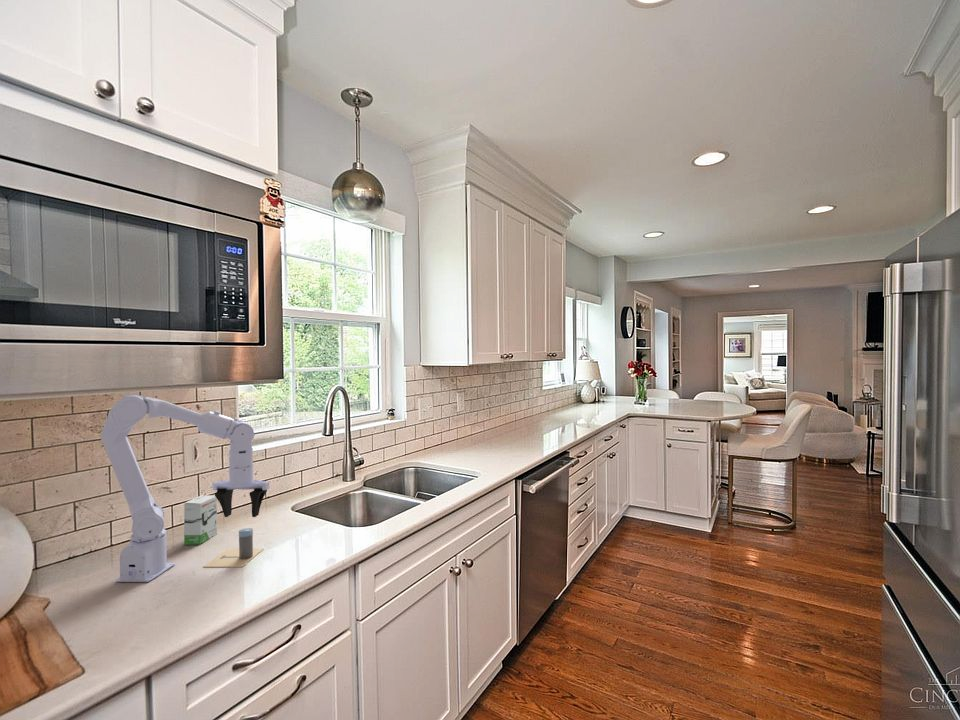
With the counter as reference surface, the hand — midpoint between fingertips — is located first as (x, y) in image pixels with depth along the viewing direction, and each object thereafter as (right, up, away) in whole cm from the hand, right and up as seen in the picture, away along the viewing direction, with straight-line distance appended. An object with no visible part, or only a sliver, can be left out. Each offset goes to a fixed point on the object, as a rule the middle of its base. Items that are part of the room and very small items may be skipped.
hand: (241, 515), depth 126 cm
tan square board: (0, -10, -4) cm, 11 cm away
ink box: (-17, -10, +9) cm, 22 cm away
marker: (+3, -10, -4) cm, 11 cm away
